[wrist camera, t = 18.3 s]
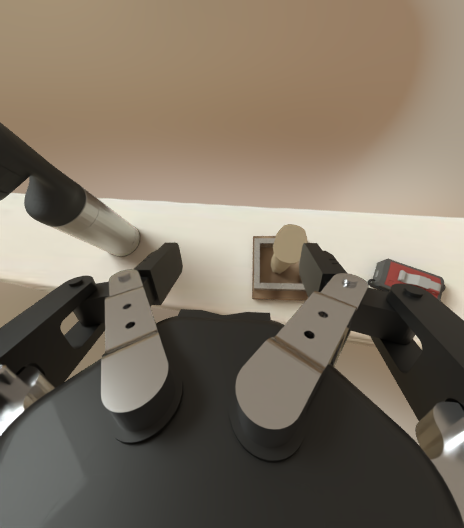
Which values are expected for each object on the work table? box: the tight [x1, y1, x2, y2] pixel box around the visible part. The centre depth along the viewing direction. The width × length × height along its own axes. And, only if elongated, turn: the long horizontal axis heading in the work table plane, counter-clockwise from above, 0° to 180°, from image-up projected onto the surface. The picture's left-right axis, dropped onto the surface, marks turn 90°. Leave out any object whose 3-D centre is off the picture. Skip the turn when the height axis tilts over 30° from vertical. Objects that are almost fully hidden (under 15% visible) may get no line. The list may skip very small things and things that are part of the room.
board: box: [252, 236, 308, 300], centre depth 44 cm, size 12×15×2 cm
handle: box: [271, 224, 307, 274], centre depth 36 cm, size 5×6×15 cm
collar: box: [254, 238, 306, 292], centre depth 42 cm, size 11×11×3 cm
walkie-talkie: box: [368, 259, 445, 301], centre depth 38 cm, size 9×4×20 cm
